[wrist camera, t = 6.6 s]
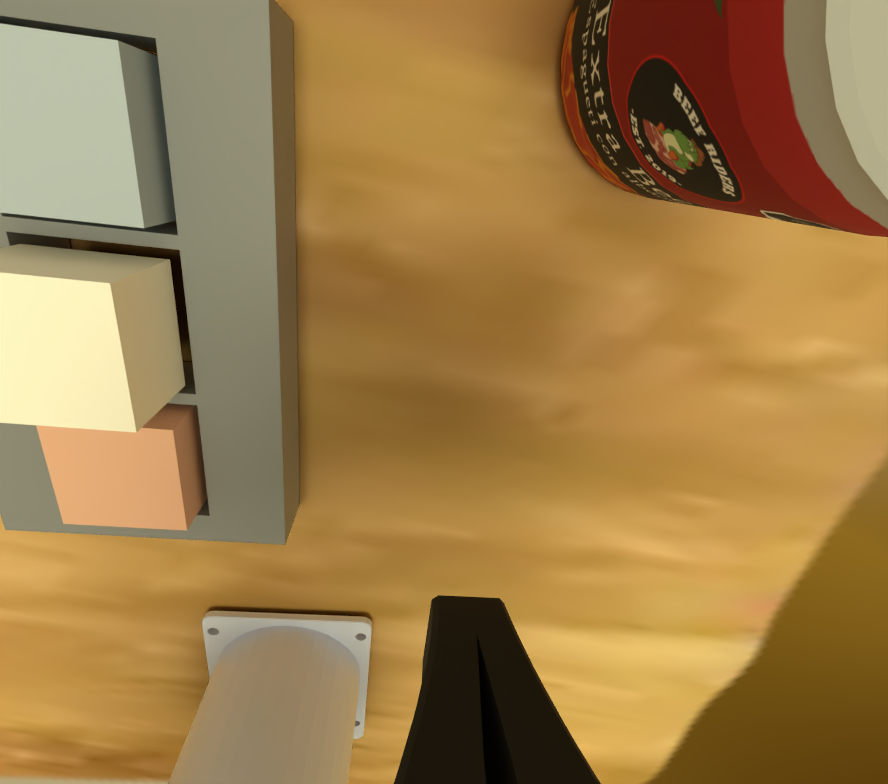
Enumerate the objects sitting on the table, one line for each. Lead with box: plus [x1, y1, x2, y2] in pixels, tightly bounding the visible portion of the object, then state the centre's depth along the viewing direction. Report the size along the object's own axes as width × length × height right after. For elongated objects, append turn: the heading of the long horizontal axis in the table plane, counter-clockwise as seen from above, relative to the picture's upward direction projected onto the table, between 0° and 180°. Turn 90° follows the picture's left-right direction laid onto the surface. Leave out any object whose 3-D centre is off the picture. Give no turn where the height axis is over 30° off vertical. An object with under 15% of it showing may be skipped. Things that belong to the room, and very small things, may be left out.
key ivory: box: [0, 244, 185, 433], centre depth 13 cm, size 4×4×3 cm
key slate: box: [0, 24, 176, 228], centre depth 13 cm, size 4×4×3 cm
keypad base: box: [0, 0, 300, 545], centre depth 16 cm, size 17×10×2 cm, turn 173°
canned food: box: [561, 0, 888, 237], centre depth 10 cm, size 8×8×11 cm
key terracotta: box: [36, 403, 208, 531], centre depth 17 cm, size 4×4×3 cm
